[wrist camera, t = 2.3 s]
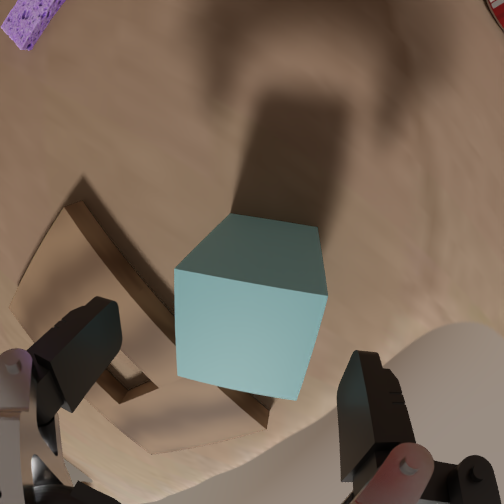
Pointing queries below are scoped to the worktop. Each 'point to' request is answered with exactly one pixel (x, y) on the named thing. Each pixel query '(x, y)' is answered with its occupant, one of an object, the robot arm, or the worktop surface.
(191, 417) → the socket board
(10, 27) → the sponges
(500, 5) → the soda can
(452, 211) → the worktop surface
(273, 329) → the teal block
